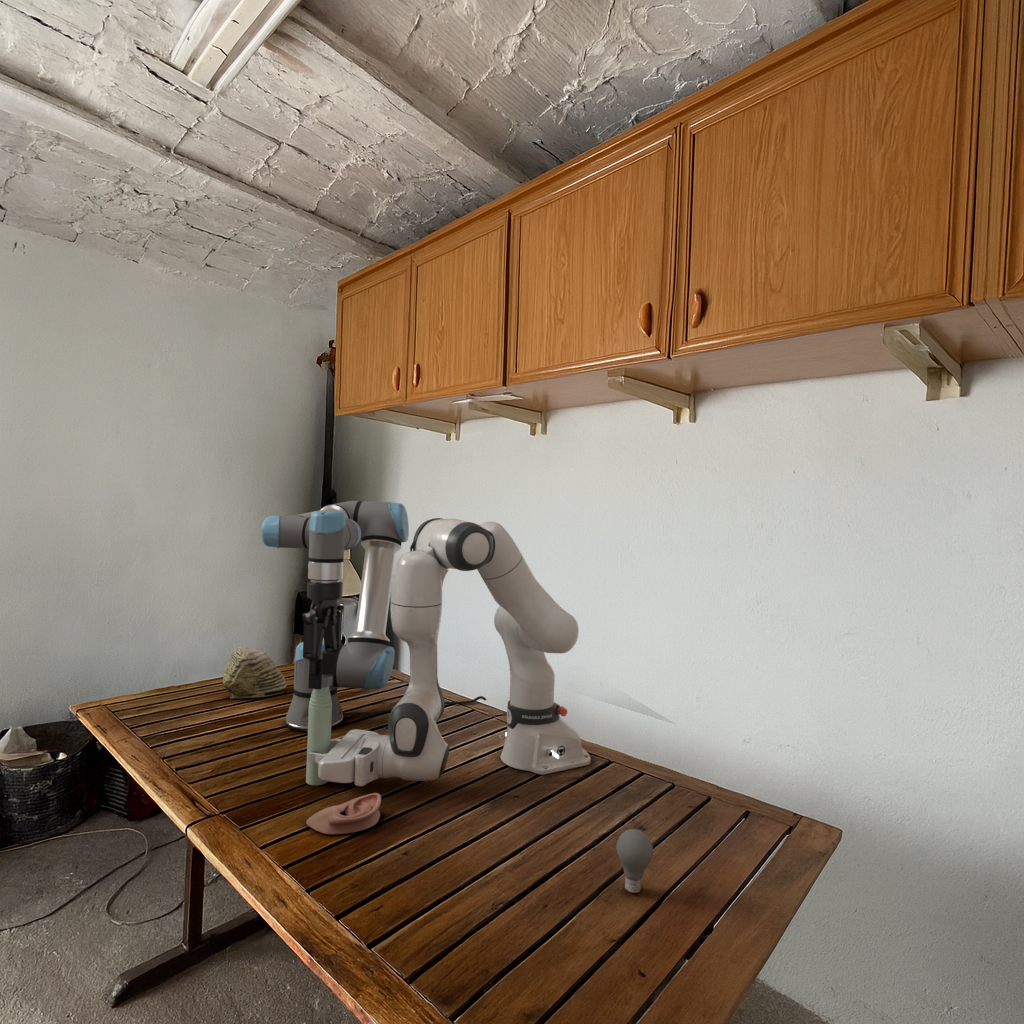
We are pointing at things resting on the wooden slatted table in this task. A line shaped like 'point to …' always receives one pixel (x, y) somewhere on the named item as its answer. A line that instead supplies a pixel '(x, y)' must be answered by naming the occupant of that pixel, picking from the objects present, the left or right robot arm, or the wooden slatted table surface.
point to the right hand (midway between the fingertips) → (314, 750)
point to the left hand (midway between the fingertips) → (321, 684)
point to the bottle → (318, 730)
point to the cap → (326, 679)
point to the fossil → (252, 674)
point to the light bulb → (634, 857)
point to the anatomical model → (347, 816)
